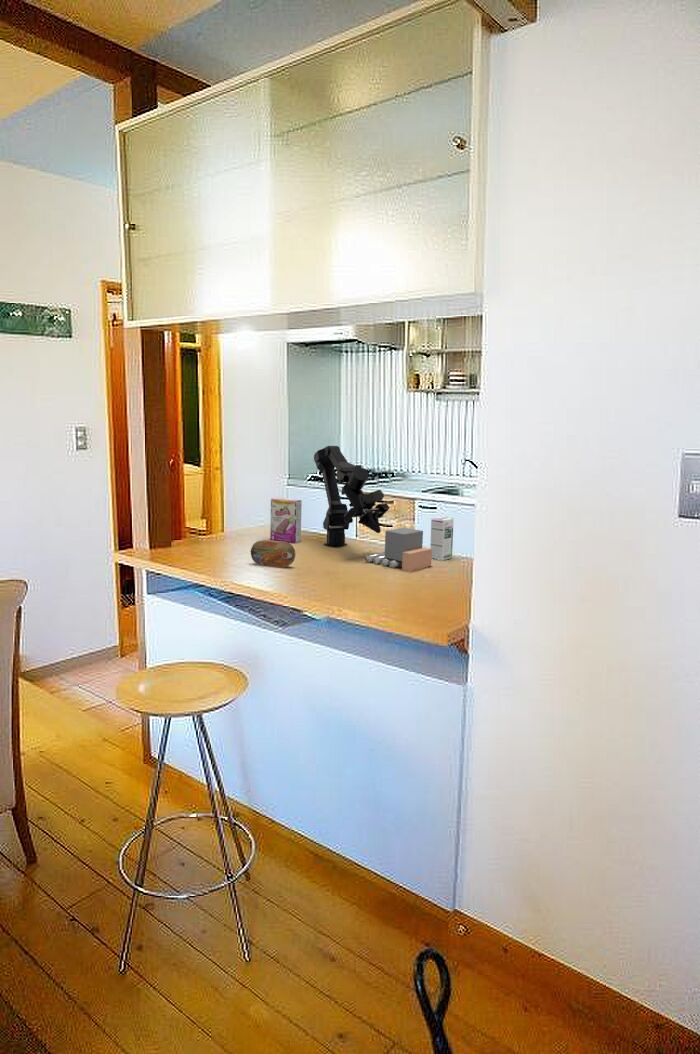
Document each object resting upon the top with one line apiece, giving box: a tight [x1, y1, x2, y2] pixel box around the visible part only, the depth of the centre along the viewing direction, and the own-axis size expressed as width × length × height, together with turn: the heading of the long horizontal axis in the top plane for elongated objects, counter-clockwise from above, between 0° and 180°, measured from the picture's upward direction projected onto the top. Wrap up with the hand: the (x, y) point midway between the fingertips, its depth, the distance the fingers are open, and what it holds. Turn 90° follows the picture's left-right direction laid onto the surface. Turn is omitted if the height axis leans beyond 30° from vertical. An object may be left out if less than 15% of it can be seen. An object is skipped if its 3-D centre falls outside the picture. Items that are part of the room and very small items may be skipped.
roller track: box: [364, 551, 402, 569], centre depth 240 cm, size 13×12×2 cm
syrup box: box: [429, 516, 454, 561], centre depth 248 cm, size 6×6×14 cm
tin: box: [250, 539, 296, 568], centre depth 230 cm, size 15×3×8 cm, turn 73°
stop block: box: [401, 547, 433, 573], centre depth 232 cm, size 3×12×6 cm, turn 138°
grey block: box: [384, 527, 424, 561], centre depth 235 cm, size 8×10×9 cm
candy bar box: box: [269, 497, 303, 544], centre depth 270 cm, size 11×5×16 cm, turn 68°
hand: (379, 532), depth 242 cm, fingers closed
